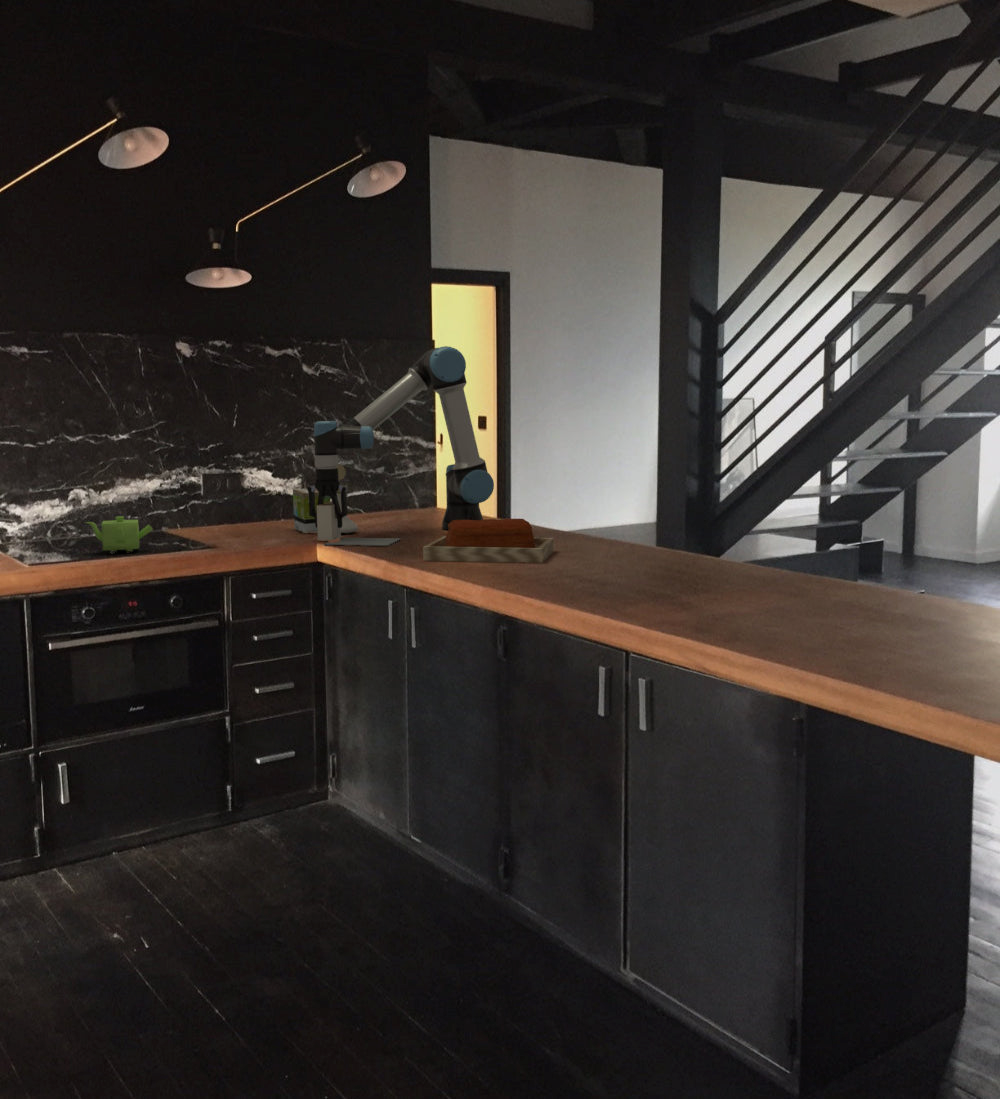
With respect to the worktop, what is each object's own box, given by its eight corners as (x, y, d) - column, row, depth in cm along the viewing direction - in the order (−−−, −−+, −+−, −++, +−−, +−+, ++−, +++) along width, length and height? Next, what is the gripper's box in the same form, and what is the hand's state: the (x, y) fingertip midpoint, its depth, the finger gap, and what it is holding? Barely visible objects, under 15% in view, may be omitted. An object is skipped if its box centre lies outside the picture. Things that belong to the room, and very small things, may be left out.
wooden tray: (553, 554, 350) (553, 538, 350) (541, 566, 327) (541, 548, 326) (442, 552, 357) (442, 536, 356) (423, 563, 334) (423, 546, 333)
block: (341, 538, 385) (339, 502, 384) (332, 541, 377) (331, 505, 375) (327, 538, 386) (325, 502, 385) (317, 541, 378) (316, 505, 376)
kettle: (86, 553, 355) (84, 517, 353) (120, 548, 367) (118, 513, 366) (122, 556, 348) (120, 519, 347) (155, 550, 361) (153, 515, 359)
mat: (400, 540, 379) (400, 538, 379) (387, 546, 363) (387, 544, 363) (340, 539, 383) (340, 537, 383) (324, 545, 367) (324, 543, 367)
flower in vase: (364, 532, 402) (363, 461, 398) (347, 536, 392) (345, 463, 388) (333, 530, 407) (331, 460, 404) (315, 534, 397) (313, 462, 394)
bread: (538, 557, 336) (538, 521, 335) (448, 560, 332) (447, 523, 331) (529, 550, 351) (529, 515, 350) (443, 552, 348) (442, 518, 346)
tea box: (293, 529, 411) (291, 488, 409) (320, 528, 415) (319, 487, 413) (304, 534, 398) (303, 492, 396) (332, 532, 402) (331, 490, 400)
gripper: (356, 467, 380) (358, 536, 383) (304, 467, 384) (307, 535, 387) (349, 468, 373) (351, 539, 376) (296, 468, 376) (299, 538, 380)
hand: (329, 537), depth 381 cm, fingers open, 5 cm apart
